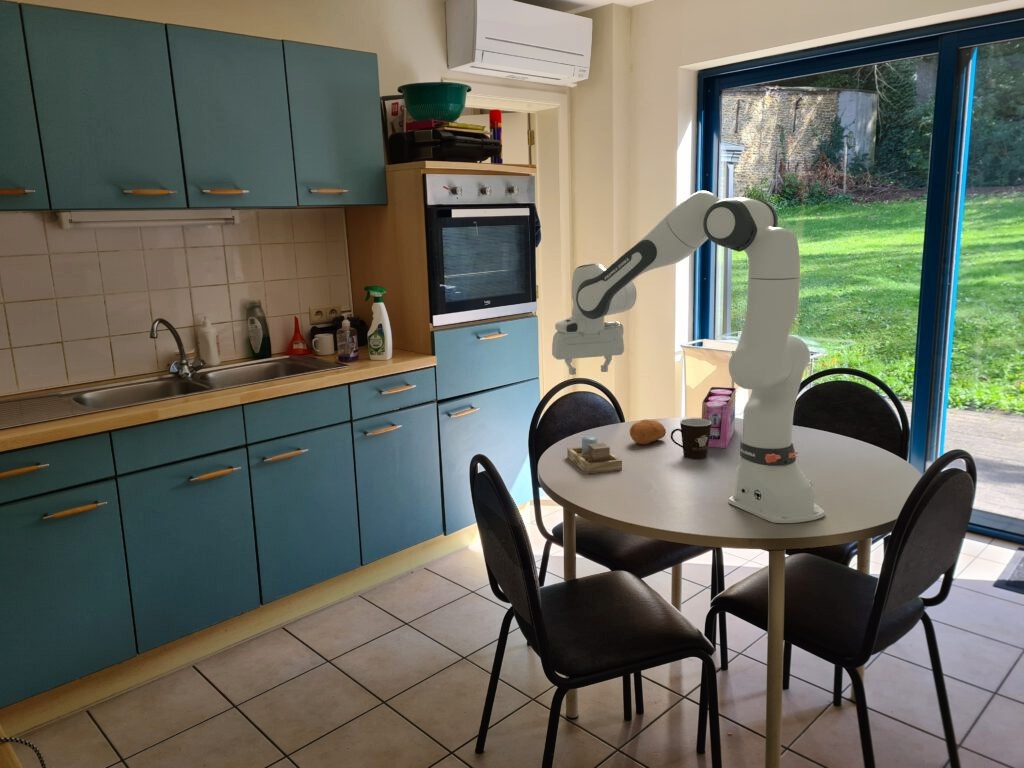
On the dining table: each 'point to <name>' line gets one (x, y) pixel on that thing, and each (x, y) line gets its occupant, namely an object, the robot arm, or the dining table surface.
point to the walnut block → (598, 452)
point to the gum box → (720, 415)
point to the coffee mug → (694, 437)
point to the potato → (647, 431)
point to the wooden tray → (604, 466)
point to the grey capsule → (587, 441)
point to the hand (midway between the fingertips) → (588, 373)
